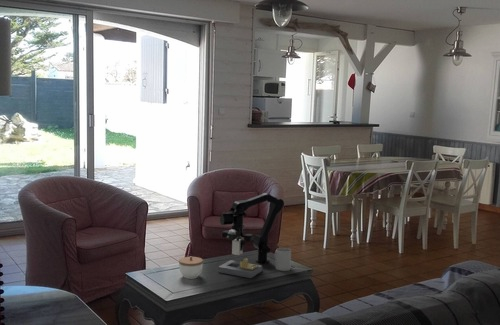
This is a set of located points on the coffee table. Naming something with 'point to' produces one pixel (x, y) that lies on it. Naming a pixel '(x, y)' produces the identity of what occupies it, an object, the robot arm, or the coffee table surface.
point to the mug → (283, 259)
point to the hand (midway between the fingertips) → (237, 250)
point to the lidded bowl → (190, 267)
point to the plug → (236, 247)
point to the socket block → (238, 269)
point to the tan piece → (247, 265)
